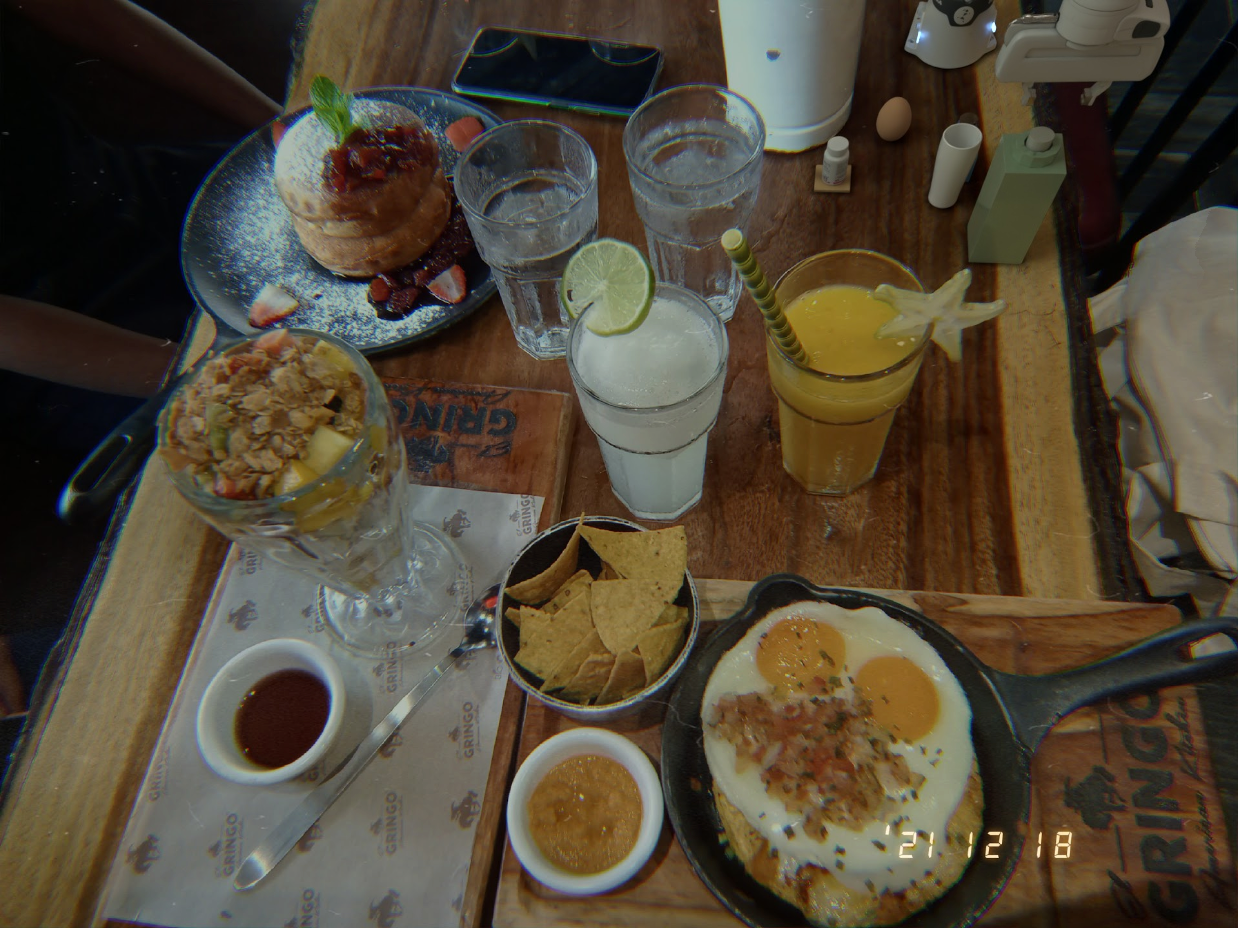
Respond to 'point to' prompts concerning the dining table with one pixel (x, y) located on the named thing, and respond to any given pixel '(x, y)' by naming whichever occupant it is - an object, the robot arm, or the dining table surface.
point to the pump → (1040, 139)
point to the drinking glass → (953, 163)
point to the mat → (824, 187)
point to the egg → (894, 119)
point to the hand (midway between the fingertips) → (1055, 103)
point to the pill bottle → (835, 161)
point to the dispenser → (1014, 199)
